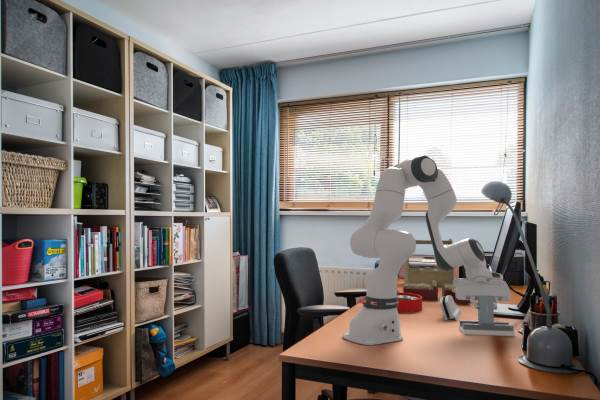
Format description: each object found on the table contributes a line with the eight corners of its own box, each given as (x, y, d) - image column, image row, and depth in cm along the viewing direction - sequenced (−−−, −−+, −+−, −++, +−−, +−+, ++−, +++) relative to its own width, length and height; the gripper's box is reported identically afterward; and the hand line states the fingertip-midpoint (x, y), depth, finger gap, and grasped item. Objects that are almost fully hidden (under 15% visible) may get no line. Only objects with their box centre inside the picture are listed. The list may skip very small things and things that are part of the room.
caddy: (449, 284, 285) (449, 238, 286) (454, 286, 274) (454, 238, 275) (404, 283, 286) (404, 237, 287) (407, 286, 276) (407, 238, 277)
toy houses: (466, 298, 237) (466, 279, 238) (475, 306, 217) (475, 285, 217) (382, 295, 245) (382, 276, 245) (382, 302, 224) (383, 282, 225)
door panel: (480, 324, 166) (480, 297, 166) (478, 322, 168) (477, 296, 169) (494, 324, 165) (493, 298, 165) (491, 323, 168) (491, 296, 168)
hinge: (457, 321, 184) (448, 297, 186) (446, 323, 186) (437, 300, 188) (461, 313, 199) (453, 291, 201) (451, 315, 201) (443, 294, 203)
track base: (464, 334, 164) (464, 324, 164) (458, 328, 172) (458, 319, 172) (514, 336, 162) (514, 326, 162) (506, 330, 170) (506, 321, 170)
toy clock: (373, 297, 207) (387, 290, 224) (373, 309, 206) (387, 302, 224) (415, 301, 197) (426, 294, 214) (415, 314, 196) (426, 306, 214)
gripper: (453, 273, 175) (459, 302, 165) (506, 274, 173) (516, 304, 163) (450, 282, 180) (456, 312, 170) (502, 284, 178) (511, 313, 167)
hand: (486, 308), depth 166 cm, fingers closed on door panel, 5 cm apart
